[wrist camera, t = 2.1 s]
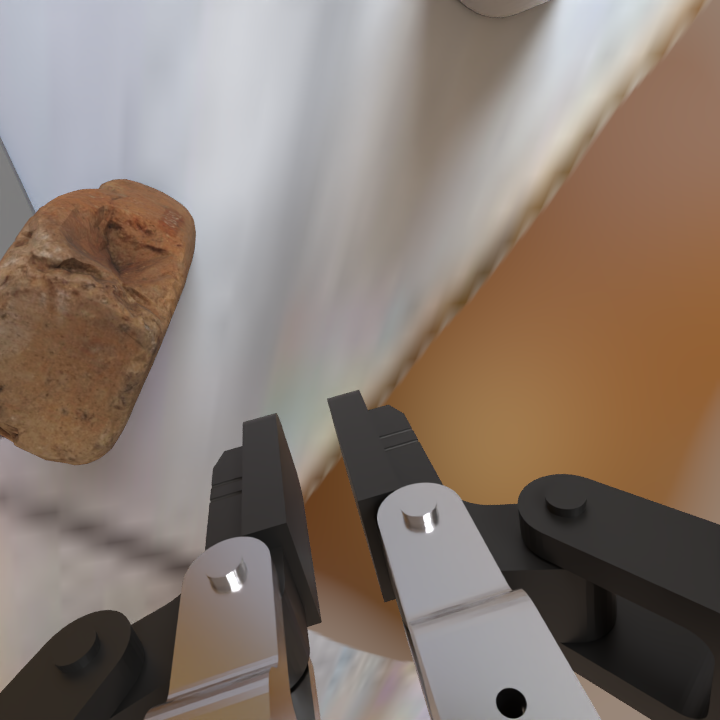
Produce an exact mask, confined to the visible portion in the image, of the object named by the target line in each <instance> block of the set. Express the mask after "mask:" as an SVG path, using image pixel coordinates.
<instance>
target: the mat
mask: <svg viewBox="0 0 720 720" xmlns="http://www.w3.org/2000/svg"><path fill="white" fill-rule="evenodd" d="M34 214H35V211H34V209H33V206H32V204H31V202H30V200H29V198H28V196H27V193H26V191H25V189H24V187H23V185H22V183H21V181H20V178H19V176H18V174H17V172H16V170H15V168H14V166H13V163H12V161H11V159H10V157H9V155H8V153H7V151H6V148H5V146H4V144H3V142H2V140H1V138H0V261H1V259H2V258H3V256H4V254H5V253H6V251H7V250H8V248H9V247H10V246H11V245H12V244H13V242H14V241H15V238H16V237H17V235H18V234H19V232H20V231H21V230H22V228H23V227H24V225H25V224H26V222H27V221H28V220H29V218H31V217H32V216H34ZM0 436H1V435H0Z"/></svg>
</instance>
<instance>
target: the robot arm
mask: <svg viewBox="0 0 720 720" xmlns="http://www.w3.org/2000/svg"><path fill="white" fill-rule="evenodd" d="M460 1H461V2H462V3H463V4H464V5H465V6H466V7H468V8H469V9H471V10H473V11H474V12H476V13H478V14H481V15H485V16H488V17H507V16H511V15H515V14H518V13H520V12H523V11H525V10H527V9H530V8H532V7H535V6H537V5H539V4H542V3H545V2H547V1H550V0H460ZM327 400H328V404H329V408H330V411H331V415H332V419H333V423H334V426H335V430H336V434H337V437H338V441H339V445H340V448H341V452H342V456H343V459H344V463H345V466H346V470H347V474H348V477H349V480H350V485H351V488H352V491H353V495H354V498H355V502H356V505H357V509H358V512H359V515H360V519H361V523H362V526H363V529H364V533H365V536H366V540H367V543H368V547H369V550H370V554H371V557H372V560H373V564H374V568H375V571H376V574H377V578H378V581H379V585H380V588H381V592H382V595H383V598H384V602H387V601H390V600H394V599H396V601H397V604H398V607H399V610H400V614H401V617H402V621H403V624H404V628H405V632H406V637H407V640H408V643H409V646H410V650H411V654H412V657H413V661H414V664H415V667H416V671H417V674H418V678H419V681H420V684H421V688H422V691H423V695H424V698H425V701H426V705H427V708H428V712H429V715H430V718H431V720H601V718H600V717H599V715H598V713H597V712H596V710H595V708H594V706H593V705H592V703H591V701H590V700H589V698H588V696H587V694H586V693H585V691H584V689H583V687H582V686H581V684H580V682H579V681H578V679H577V677H576V676H575V674H574V672H576V673H577V674H579V675H581V676H582V677H584V678H585V679H587V680H589V681H590V682H592V683H593V684H595V685H597V686H598V687H600V688H602V689H603V690H605V691H606V692H608V693H609V694H611V695H613V696H614V697H616V698H618V699H619V700H621V701H622V702H624V703H626V704H627V705H629V706H631V707H632V708H634V709H635V710H637V711H639V712H640V713H642V714H643V715H645V716H647V717H648V718H650V719H651V720H720V525H719V524H716V523H713V522H710V521H707V520H705V519H702V518H699V517H696V516H693V515H690V514H687V513H685V512H682V511H679V510H676V509H673V508H670V507H667V506H665V505H662V504H659V503H656V502H653V501H650V500H647V499H644V498H642V497H639V496H636V495H633V494H630V493H628V492H625V491H622V490H619V489H616V488H613V487H610V486H608V485H605V484H602V483H599V482H596V481H593V480H590V479H588V478H584V477H580V476H576V475H568V474H556V475H549V476H545V477H541V478H539V479H536V480H534V481H532V482H531V483H529V484H528V485H527V486H526V487H525V488H524V489H523V490H522V491H521V493H520V495H519V498H518V504H507V505H506V504H505V505H479V504H473V503H469V502H466V501H463V500H461V498H460V497H459V496H458V494H456V493H455V492H454V491H453V490H451V489H449V488H448V487H446V486H443V485H442V482H441V481H440V479H439V477H438V475H437V473H436V471H435V470H434V468H433V466H432V465H431V462H430V461H429V459H428V457H427V455H426V453H425V451H424V450H423V448H422V446H421V444H420V442H418V439H417V437H416V435H415V433H414V431H413V430H412V428H411V426H410V424H409V422H408V420H407V418H406V417H405V415H404V414H403V413H402V412H400V411H398V410H397V409H395V408H393V407H391V406H390V405H386V406H382V407H379V408H375V409H372V410H367V407H366V405H365V403H364V400H363V398H362V396H361V393H360V391H359V390H357V391H353V392H349V393H346V394H342V395H339V396H335V397H332V398H328V399H327ZM210 501H211V503H210V505H209V515H208V525H207V536H206V546H205V551H204V552H203V553H202V554H201V555H199V556H198V557H197V558H196V559H195V560H194V562H193V563H192V564H191V565H190V567H189V568H188V570H187V572H186V574H185V576H184V579H183V583H182V590H181V594H180V595H179V596H178V597H177V598H175V599H174V600H173V601H171V602H170V603H168V604H167V605H165V606H163V607H162V608H160V609H158V610H156V611H155V612H153V613H151V614H149V615H148V616H146V617H144V618H143V619H141V620H139V621H137V622H136V623H134V624H132V625H131V624H130V622H129V621H128V619H127V618H126V616H124V615H123V614H122V613H120V612H117V611H112V610H103V611H98V612H94V613H91V614H88V615H85V616H83V617H81V618H79V619H77V620H75V621H73V622H72V623H70V624H68V625H67V626H66V627H64V628H63V629H61V630H60V631H59V632H58V633H57V634H55V635H54V636H53V637H52V638H51V639H50V640H49V641H48V642H47V643H46V644H45V645H44V646H43V647H42V648H41V649H40V651H39V652H38V653H37V654H36V655H35V656H34V657H33V658H32V659H31V660H30V661H29V662H28V664H27V665H26V666H25V667H24V668H23V669H22V670H21V671H20V672H19V673H18V674H17V675H16V676H15V678H14V679H13V680H12V681H11V682H10V683H9V684H8V685H7V686H6V687H5V688H4V689H3V691H2V692H1V693H0V720H321V719H320V712H319V704H318V697H317V690H316V683H315V676H314V669H313V665H312V661H311V659H310V656H309V655H310V647H309V639H308V630H307V627H309V626H312V625H315V624H318V623H321V616H320V609H319V602H318V596H317V590H316V582H315V576H314V569H313V562H312V556H311V549H310V542H309V536H308V529H307V523H306V516H305V509H304V502H303V496H302V491H301V487H300V483H299V479H298V476H297V472H296V469H295V466H294V463H293V460H292V456H291V453H290V450H289V447H288V444H287V441H286V438H285V435H284V432H283V429H282V425H281V422H280V420H279V417H278V415H277V413H275V414H271V415H267V416H264V417H260V418H257V419H253V420H250V421H246V422H243V446H241V447H238V448H234V449H231V450H227V451H224V453H223V454H222V456H221V457H220V459H219V460H218V462H217V463H216V465H215V466H214V468H213V475H212V489H211V495H210ZM573 671H574V672H573Z"/></svg>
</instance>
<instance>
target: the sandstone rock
mask: <svg viewBox="0 0 720 720" xmlns="http://www.w3.org/2000/svg"><path fill="white" fill-rule="evenodd" d="M195 238H196V231H195V225H194V220H193V218H192V216H191V214H190V213H189V211H188V210H187V209H186V208H185V207H184V206H183V205H182V204H180V203H179V202H177V201H176V200H175V199H173V198H171V197H170V196H168V195H166V194H165V193H163V192H161V191H158V190H156V189H154V188H152V187H149V186H146V185H144V184H141V183H138V182H134V181H131V180H127V179H118V180H111V181H109V182H106V183H104V184H102V185H101V186H100V188H99V189H82V190H77V191H73V192H70V193H67V194H64V195H61V196H58V197H57V198H55V199H53V200H52V201H50V202H48V203H47V204H46V205H45V206H43V207H41V208H39V210H38V211H37V212H36V213H35V214H34V216H32V217H31V218H29V220H28V221H27V222H26V224H25V225H24V227H23V228H22V230H21V231H20V232H19V234H18V235H17V237H16V238H15V241H14V242H13V244H12V245H11V246H10V247H9V248H8V250H7V251H6V253H5V254H4V256H3V258H2V259H1V261H0V435H2V436H3V437H5V438H7V439H9V440H10V441H12V442H13V443H14V445H15V446H17V447H19V448H21V449H23V450H25V451H28V452H30V453H32V454H34V455H36V456H38V457H40V458H43V459H45V460H49V461H56V462H62V463H68V464H72V465H81V464H87V463H90V462H92V461H95V460H97V459H99V458H101V457H102V456H104V455H105V454H106V453H107V452H108V451H109V450H110V449H112V447H113V446H114V444H115V443H116V441H117V440H118V438H119V436H120V435H121V433H122V431H123V429H124V427H125V425H126V423H127V422H128V420H129V417H130V415H131V412H132V410H133V407H134V405H135V403H136V400H137V398H138V396H139V394H140V391H141V389H142V387H143V384H144V382H145V380H146V378H147V376H148V373H149V371H150V369H151V367H152V365H153V362H154V360H155V357H156V355H157V353H158V351H159V348H160V346H161V343H162V341H163V338H164V336H165V333H166V331H167V328H168V326H169V323H170V321H171V318H172V315H173V313H174V311H175V308H176V306H177V303H178V301H179V299H180V296H181V293H182V291H183V288H184V285H185V282H186V278H187V275H188V272H189V269H190V265H191V262H192V259H193V254H194V249H195Z"/></svg>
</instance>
